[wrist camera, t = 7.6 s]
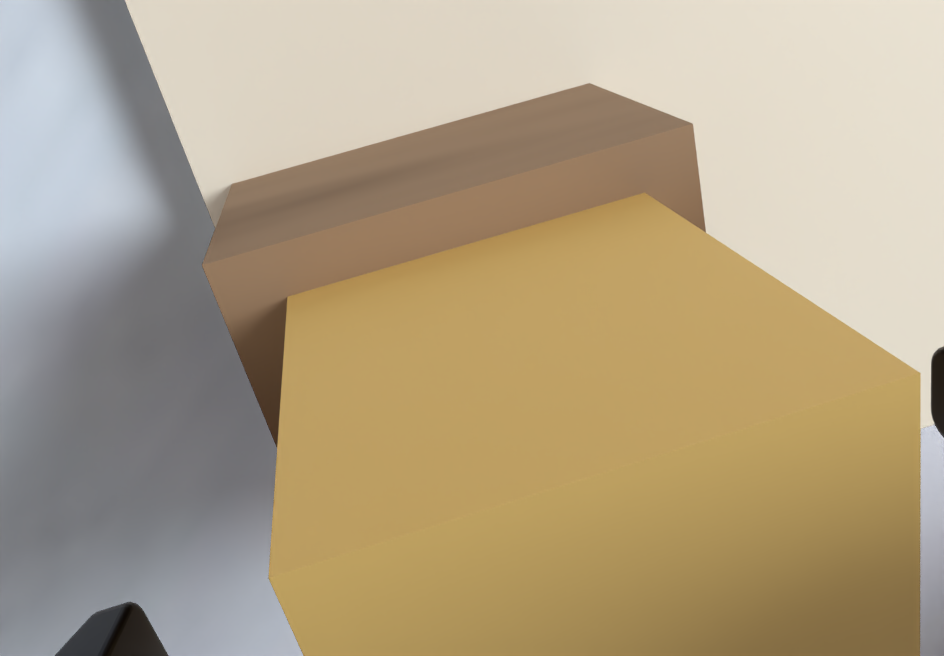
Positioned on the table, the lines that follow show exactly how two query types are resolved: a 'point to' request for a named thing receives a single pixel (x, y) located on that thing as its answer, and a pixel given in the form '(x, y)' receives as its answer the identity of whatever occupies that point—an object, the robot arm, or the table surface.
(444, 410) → the ochre brick
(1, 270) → the table surface
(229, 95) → the building board
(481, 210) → the walnut brick
